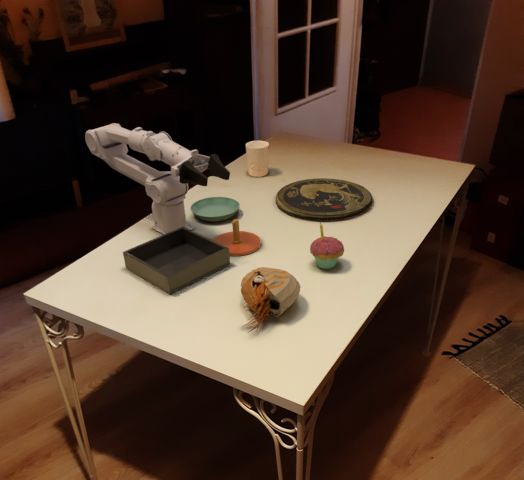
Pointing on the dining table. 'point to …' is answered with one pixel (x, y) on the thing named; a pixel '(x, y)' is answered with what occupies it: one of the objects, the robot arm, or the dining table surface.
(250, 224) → the dining table surface
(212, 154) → the robot arm
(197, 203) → the saucer
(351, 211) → the decorative plate
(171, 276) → the tray
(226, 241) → the orange round pegged disc
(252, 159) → the white cup
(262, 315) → the nautilus shell
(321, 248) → the cupcake
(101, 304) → the dining table surface
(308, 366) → the dining table surface
